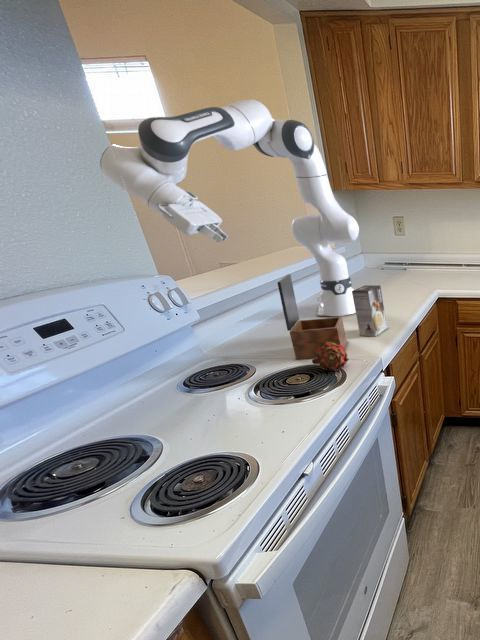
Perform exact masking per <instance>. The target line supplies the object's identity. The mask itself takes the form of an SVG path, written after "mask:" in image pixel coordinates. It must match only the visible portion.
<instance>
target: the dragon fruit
mask: <svg viewBox="0 0 480 640" xmlns="http://www.w3.org/2000/svg"><path fill="white" fill-rule="evenodd" d="M345 348H346V347H345ZM345 348H344V347H343V346H341V345H340V344H338V345H337V344H335V343H333V342H327V343H326V344H325V345H324V346H323V347H319V348H318V350H317V351H316V354H315V355H314V358H311V363H312V364H313V365H319V367H320V369H321V368H324V369H322V370H324V371H326V372H327V371H331V372H339V371H340V370H341V369H343V368H344V367H345V365H347V362H348V361H349V360H350V359H349V357H348V354H347V352H346V349H345ZM316 355H317V356H316ZM315 356H316V357H315ZM326 368H327V369H326Z"/></svg>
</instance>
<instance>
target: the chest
mask: <svg viewBox="0 0 480 640" xmlns="http://www.w3.org/2000/svg"><path fill="white" fill-rule="evenodd" d="M289 336H290V340H291V345H292V348H293V352H294V356H295V359H296V360H304V359H315V358H316V356H317V355H316V356H315V357H314V355H315V354H316V351H317V350H318V348H319V347H323V346H324V345H325V344H326V343H327V342H333V343H335V344H337V345H338V344H340V345H341V346H343V347H344V348H346V346H347V342H348V340H347V336H346V331H345V325H344V319H343V316H332V317H325V318H324V317H322V318H312V319H301V320H300V319H299V320H298V321H297V323H296V324H295V325H294V327H293V328H292V329H291V330H290V331H289Z"/></svg>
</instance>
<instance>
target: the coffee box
mask: <svg viewBox="0 0 480 640" xmlns="http://www.w3.org/2000/svg"><path fill="white" fill-rule="evenodd" d="M352 295H353V300H354V305H355V311H356V313H355V315H356V321H357V326H358V327H357V328H358V331H359V336H362V337H364V336H365V337H377V336H378V335H380V334H381V333H382V332H384V331H385V330H387V329H388V326H387V319H386V313H385V306H384V300H383V294H382V288H381V285H379V284H377V285H362V286H361V287H358V288H356V289H355V290H353V291H352Z"/></svg>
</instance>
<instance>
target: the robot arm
mask: <svg viewBox="0 0 480 640" xmlns="http://www.w3.org/2000/svg"><path fill="white" fill-rule="evenodd" d="M137 132H138V137H139V142H140V146H135V147H134V146H132V147H131V146H130V147H129V146H128V147H127V146H120V145H116V144H111V145H110V146H111V147H110V146H108V147H106V149H105V150H104V151H103V152H102V154H101V157H100V161H99V162H100V169H101V172H102V173H103V174H104V175H105V177H107V178H108V179H109V180H110V181H112V182H113V183H114V184H115V185H116V186H118V187H119V188H120V189H122V190H123V191H125V192H126V193H128V194H129V195H131V197H132V196H133V197H135V198H137V199H139V200H141V201H142V202H143V203H144V204H145V206H147V207H148V208H149V209H151V210H152V211H154V212H155V213H156V214H158V215H160V216H161V218H163V219H164V220H165V221H166V222H168V223H169V224H170V225H172V226H173V227H174V228H176V229H177V230H179V231H180V232H182V233H183V234H185V235H187V236H190V235H196V234H202V235H204V236H206V237H208V238H211V239H212V240H214V241H216V243H220V242H225V241H227V239H228V238H229V235H228V234H226V233H225V232H224V231H223V230H222V229H221V228H220V226H221V225H222V223H223V219H222V218H221V216H220V215H218V213H216V212H214V211H213V210H212V209H211V208H210V207H209V206H207V205H206V204H204V203H203V202H202V201H200V200H199V197H198V196H197V195H195V194H194V193H192V192H190V191H186V190H185V189H183V188H182V187H180V186H178V184H180V183H181V182H183V181H184V180H185V178H186V176H187V173H188V172H187V171H188V160H189V154H190V151H191V149H192V147H193V145H194V144H195V143H197V142H200V141H203V140H206V139H209V138H213V139H214V140H215V141H216V142H217V143H218V144H219V145H220V146H222V147H224V148H225V149H227V150H230V151H233V152H236V151H241V150H244V149H247V148H249V147H250V146H252V145H253V147H254V148H255V149H256V150H257V151H258V152H259V153H260V154H262V155H264V156H266V157H271V158H274V157H276V158H283V159H286V158H288V159H289V161H290V162H291V164H292V169H293V174H294V177H295V180H296V184H297V187H298V191H299V194H300V198H301V199H302V200H303V201H304V202H305V203H306V204H308V205H310V206H312V207H314V208H315V209H316V210H317V211H318V212H319V214H305V215H300V216H297V217H294V219H293V220H292V222H291V226H290V229H291V234H292V236H293V237H294V238H295V240H296V241H297V242H299V243H300V244H301V245H303V246H304V247H305V248H306V249H307V250H308V251H309V252H310V253H311V255H312V256H313V258H314V260H315V262H316V265H317V269H318V273H319V278H320V280H319V286H320V288H321V292H320V294H319V296H318V297H317V298H316V299H317V303H318V304H319V306H318V310H317V316H318V317H344V316H348V315H353V314H356V311H355V305H354V300H353V295H352V291H353V290H356V289H355V288H353V287H352V286H353V285H352V284H353V283H352V279H351V277H350V274H349V269H348V264H347V260H346V258H345V257H344V256H343V255H342V254H340V253H339V252H336V251H334V250H333V248H332V247H331V245H335V244H347V243H351V242H355V241H356V240H357V239H358V236H359V235H360V226H359V223H358V221H357V220H356V219H355V218H354V216H352V215H351V214H349V213H348V212H347V211H346V210H344V208H342V207H341V205H340V204H339V203H338V201H337V200H336V198H335V196H334V192H333V190H332V187H331V183H330V180H329V175H328V172H327V168H326V165H325V162H324V159H323V156H322V153H321V152H320V150H319V147H318V146H317V144H315V142H314V138H313V135H312V132H311V131H310V129H309V127H308V126H307V125H306V124H305V123H303V122H301V121H299V120H295V119H282V118H281V119H279V118H278V119H277V118H276V119H274V118H273V116H272V114H271V112H270V111H269V109H268V107H266V106H265V105H264V103H262V102H261V101H259V100H256V99H254V98H253V99H252V98H251V99H243V100H238V101H235V102H231V103H229V104H226V105H224V106H221V107H218V106H210V107H205V108H200V109H198V110H194V111H190V112H187V113H183V114H179V115H174V116H153V117H148V118H145V119H144V120H142V121H141V122H140V123H139V125H138V129H137ZM111 148H112V149H111ZM112 151H113V152H112ZM113 153H114V155H113ZM114 156H115V158H114ZM116 162H117V163H116ZM121 176H122V177H121ZM122 179H123V180H122ZM123 181H124V183H123ZM124 184H125V186H124ZM125 187H126V188H125ZM126 190H127V191H126Z"/></svg>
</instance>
